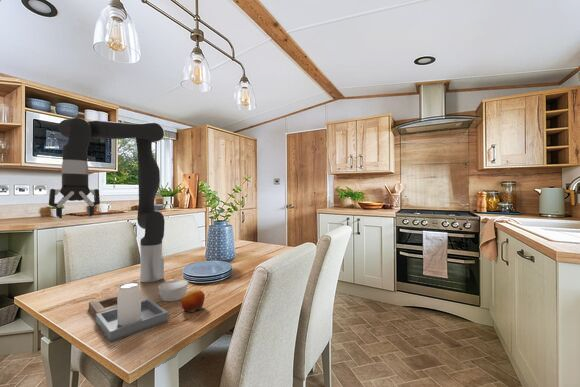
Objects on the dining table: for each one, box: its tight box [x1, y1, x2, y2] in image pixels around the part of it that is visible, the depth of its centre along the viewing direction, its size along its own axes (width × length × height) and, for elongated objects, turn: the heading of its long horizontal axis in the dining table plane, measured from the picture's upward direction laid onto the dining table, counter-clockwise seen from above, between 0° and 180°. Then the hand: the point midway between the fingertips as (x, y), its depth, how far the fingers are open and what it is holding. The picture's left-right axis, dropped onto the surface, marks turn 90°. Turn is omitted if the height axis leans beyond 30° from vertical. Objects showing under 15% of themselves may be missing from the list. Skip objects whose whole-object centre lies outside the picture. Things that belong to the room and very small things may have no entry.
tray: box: [95, 298, 169, 343], centre depth 84 cm, size 16×16×3 cm
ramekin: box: [157, 279, 189, 302], centre depth 104 cm, size 11×11×5 cm
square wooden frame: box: [88, 294, 117, 318], centre depth 94 cm, size 12×12×2 cm
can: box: [116, 281, 142, 326], centre depth 83 cm, size 6×6×12 cm
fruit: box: [180, 289, 206, 313], centre depth 93 cm, size 8×8×8 cm
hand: (75, 217), depth 95 cm, fingers open, 8 cm apart
